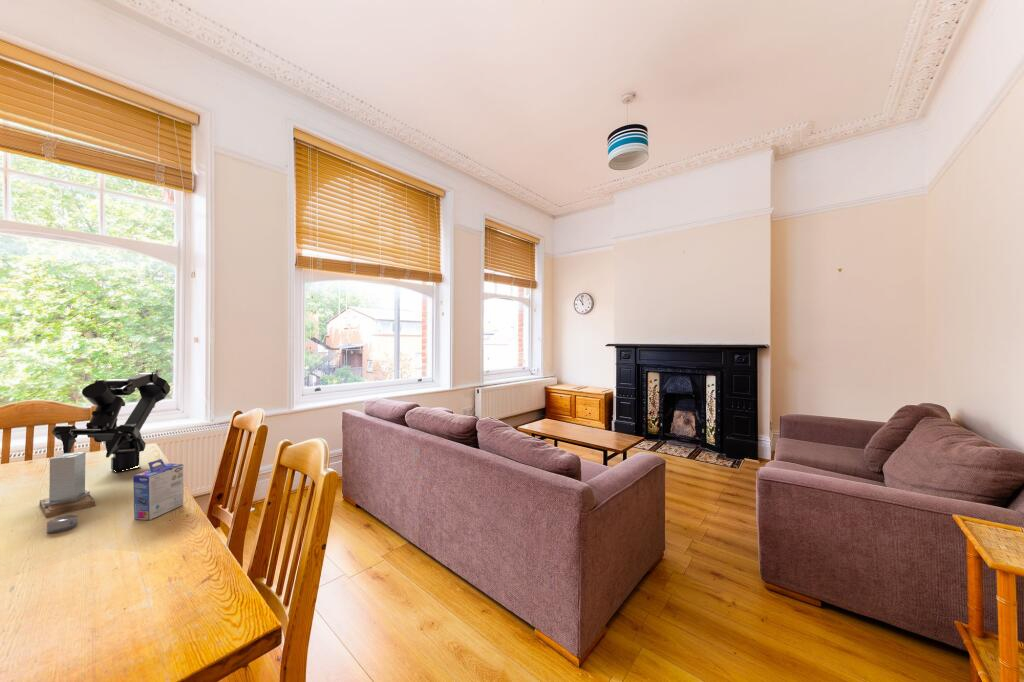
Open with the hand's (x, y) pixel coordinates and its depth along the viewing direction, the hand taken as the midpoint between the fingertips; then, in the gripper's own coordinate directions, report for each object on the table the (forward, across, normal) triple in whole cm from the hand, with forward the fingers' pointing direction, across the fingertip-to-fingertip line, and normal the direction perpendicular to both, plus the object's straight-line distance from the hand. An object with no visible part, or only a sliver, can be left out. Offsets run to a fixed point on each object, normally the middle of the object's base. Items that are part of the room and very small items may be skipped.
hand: (86, 457), depth 117 cm
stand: (+14, -1, +1) cm, 15 cm away
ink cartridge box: (+22, -25, +14) cm, 37 cm away
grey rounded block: (+25, -7, +15) cm, 30 cm away
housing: (+13, -1, +2) cm, 13 cm away
